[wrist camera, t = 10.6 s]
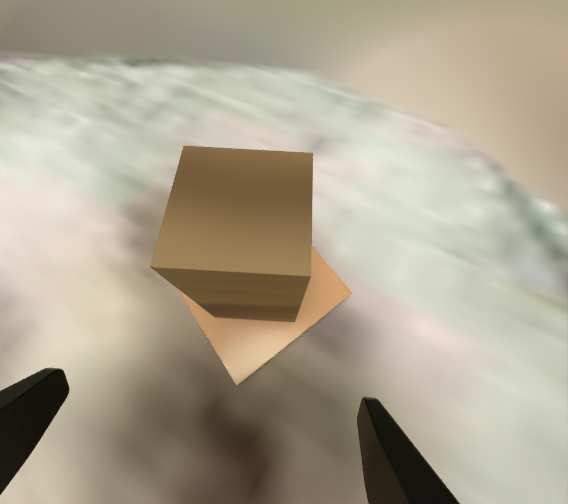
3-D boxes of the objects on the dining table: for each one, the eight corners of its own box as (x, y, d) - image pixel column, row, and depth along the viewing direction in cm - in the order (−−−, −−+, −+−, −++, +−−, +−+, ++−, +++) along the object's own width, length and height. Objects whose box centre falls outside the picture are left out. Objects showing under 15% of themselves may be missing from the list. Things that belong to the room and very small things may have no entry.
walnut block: (294, 322, 16) (311, 276, 8) (214, 317, 16) (149, 266, 8) (297, 249, 18) (312, 153, 10) (226, 245, 18) (183, 145, 10)
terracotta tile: (242, 382, 17) (236, 385, 15) (177, 277, 20) (163, 266, 18) (344, 301, 20) (352, 292, 17) (272, 216, 22) (271, 199, 20)
